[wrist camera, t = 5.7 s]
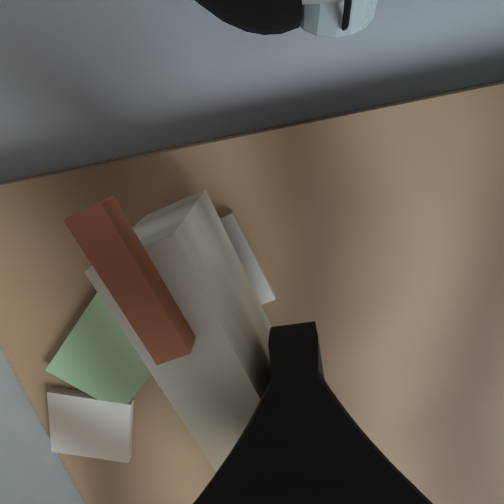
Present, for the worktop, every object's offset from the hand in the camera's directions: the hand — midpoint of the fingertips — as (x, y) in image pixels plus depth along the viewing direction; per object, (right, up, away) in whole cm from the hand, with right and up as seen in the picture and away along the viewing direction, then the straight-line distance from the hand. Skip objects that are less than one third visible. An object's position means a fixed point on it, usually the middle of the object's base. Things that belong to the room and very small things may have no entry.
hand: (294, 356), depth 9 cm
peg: (-1, -1, +3) cm, 3 cm away
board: (+1, -3, +5) cm, 6 cm away
